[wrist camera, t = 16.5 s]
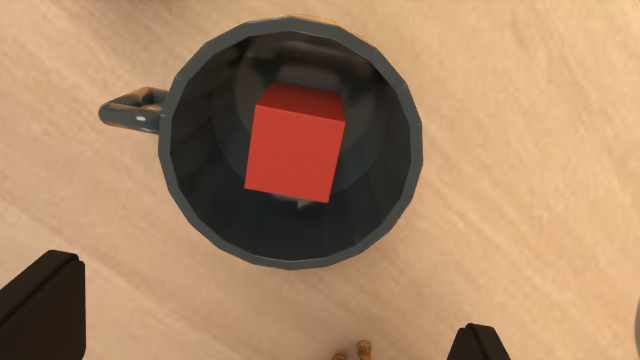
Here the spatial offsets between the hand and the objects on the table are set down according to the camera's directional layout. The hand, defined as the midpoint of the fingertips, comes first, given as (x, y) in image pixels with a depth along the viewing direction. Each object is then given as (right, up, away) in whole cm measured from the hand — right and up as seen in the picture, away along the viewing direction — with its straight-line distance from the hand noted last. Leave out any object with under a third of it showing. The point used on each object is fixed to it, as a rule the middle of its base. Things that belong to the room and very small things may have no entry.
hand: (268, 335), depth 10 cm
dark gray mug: (-2, +8, +18) cm, 20 cm away
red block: (0, +8, +17) cm, 19 cm away
